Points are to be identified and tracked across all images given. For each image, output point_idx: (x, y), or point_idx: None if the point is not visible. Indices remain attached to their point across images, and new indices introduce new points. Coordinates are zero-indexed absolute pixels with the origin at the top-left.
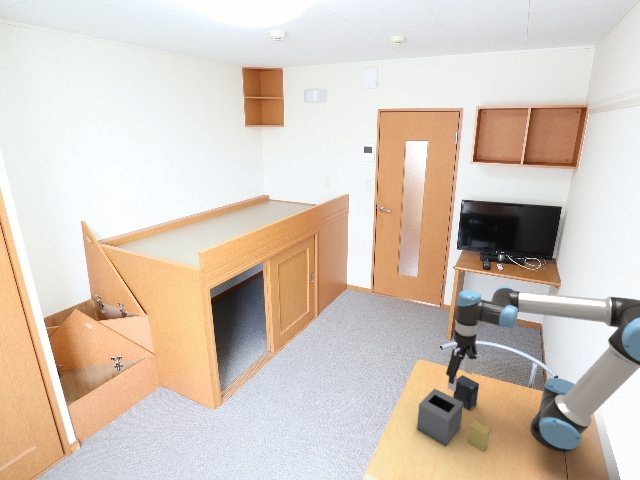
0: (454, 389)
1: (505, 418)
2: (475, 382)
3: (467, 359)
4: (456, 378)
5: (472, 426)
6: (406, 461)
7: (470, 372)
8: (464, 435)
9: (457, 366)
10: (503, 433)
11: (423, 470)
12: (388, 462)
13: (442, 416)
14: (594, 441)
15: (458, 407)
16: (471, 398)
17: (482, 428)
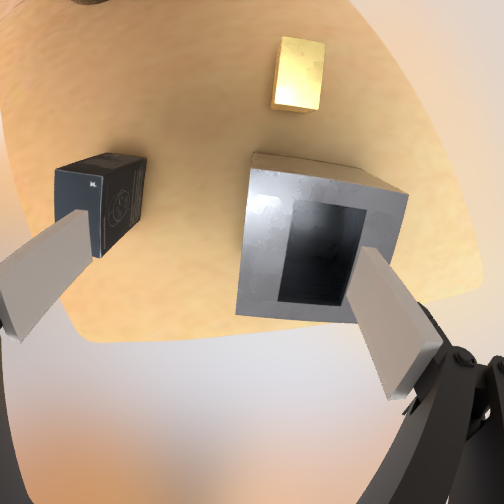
0: (381, 258)
1: (112, 57)
2: (57, 184)
3: (24, 321)
4: (417, 318)
5: (318, 98)
6: (446, 242)
7: (79, 224)
8: (277, 129)
9: (460, 451)
10: (183, 34)
11: (454, 198)
12: (458, 272)
13: (400, 225)
14: None
15: (302, 180)
16: (122, 165)
17: (302, 61)
